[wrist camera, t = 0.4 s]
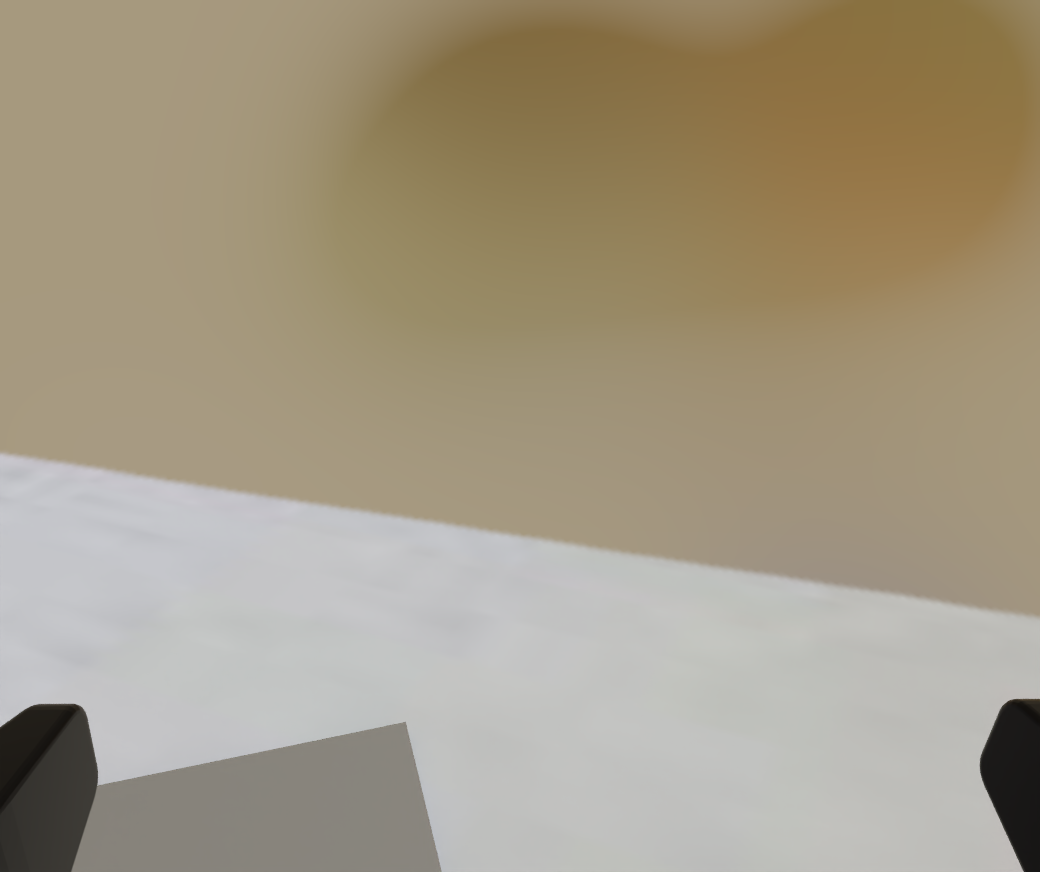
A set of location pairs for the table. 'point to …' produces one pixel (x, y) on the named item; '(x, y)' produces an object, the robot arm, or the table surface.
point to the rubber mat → (270, 813)
